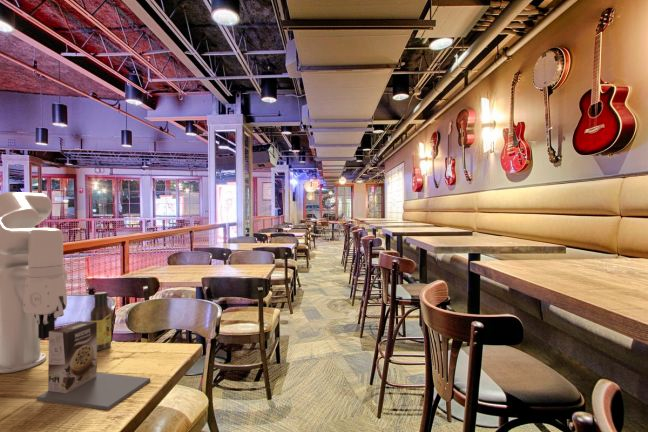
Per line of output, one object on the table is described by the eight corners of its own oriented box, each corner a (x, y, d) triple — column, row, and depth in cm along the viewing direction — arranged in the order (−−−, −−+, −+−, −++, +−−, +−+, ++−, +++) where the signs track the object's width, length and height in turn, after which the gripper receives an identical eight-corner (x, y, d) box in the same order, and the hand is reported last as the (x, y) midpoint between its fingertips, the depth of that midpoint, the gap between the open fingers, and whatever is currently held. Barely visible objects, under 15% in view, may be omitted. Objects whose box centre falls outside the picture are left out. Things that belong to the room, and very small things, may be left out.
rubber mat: (36, 400, 82) (36, 396, 82) (87, 373, 96) (87, 371, 96) (108, 409, 78) (108, 406, 78) (150, 380, 91) (150, 378, 91)
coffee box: (66, 394, 83) (66, 332, 83) (47, 391, 85) (47, 330, 85) (98, 377, 92) (97, 321, 92) (79, 374, 94) (79, 320, 94)
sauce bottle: (110, 349, 114) (110, 293, 114) (89, 352, 111) (88, 295, 111) (112, 343, 119) (111, 290, 120) (91, 346, 116) (91, 292, 116)
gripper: (10, 273, 88) (10, 340, 88) (53, 275, 85) (54, 343, 85) (39, 269, 96) (39, 330, 95) (80, 270, 93) (80, 333, 92)
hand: (46, 336), depth 90 cm, fingers closed
